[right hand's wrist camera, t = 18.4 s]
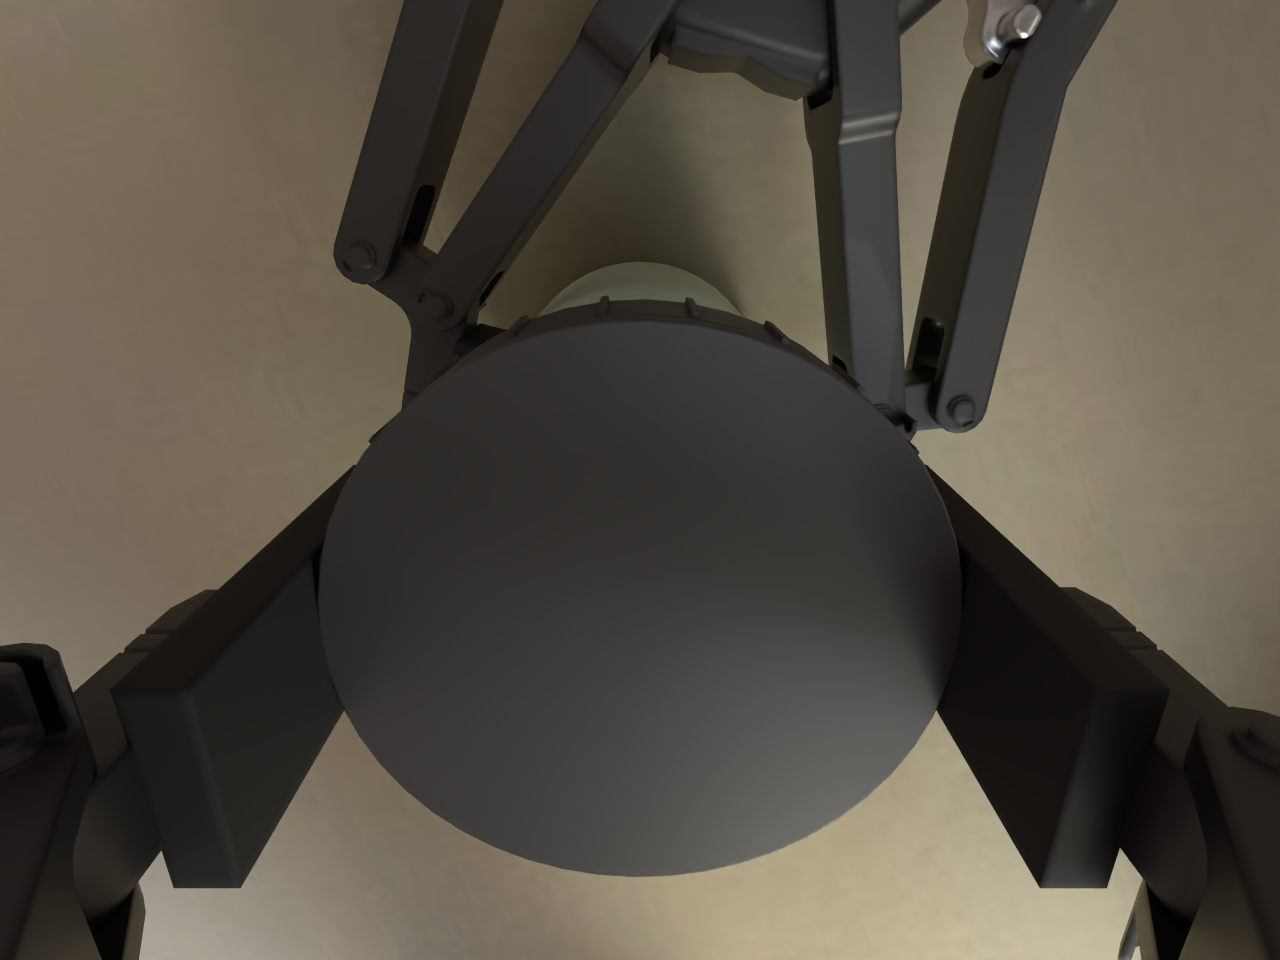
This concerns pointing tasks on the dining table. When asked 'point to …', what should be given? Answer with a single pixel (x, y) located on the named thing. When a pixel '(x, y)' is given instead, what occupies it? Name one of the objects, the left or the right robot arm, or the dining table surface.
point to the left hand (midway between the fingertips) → (599, 596)
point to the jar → (639, 287)
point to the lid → (640, 591)
